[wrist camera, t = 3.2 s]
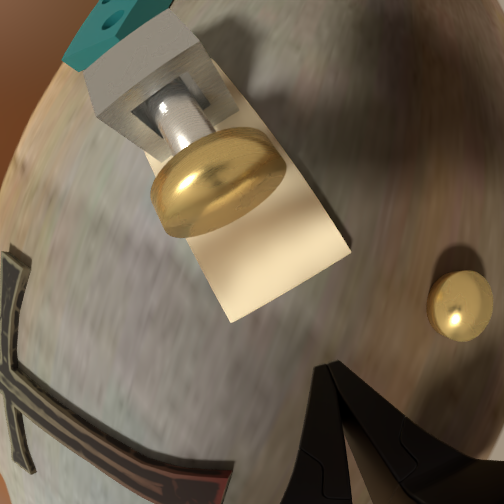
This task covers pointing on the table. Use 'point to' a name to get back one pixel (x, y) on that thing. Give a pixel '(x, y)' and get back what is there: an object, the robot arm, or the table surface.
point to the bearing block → (154, 80)
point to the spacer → (460, 305)
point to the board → (265, 234)
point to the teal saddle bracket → (109, 28)
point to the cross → (79, 430)
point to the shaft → (208, 166)
